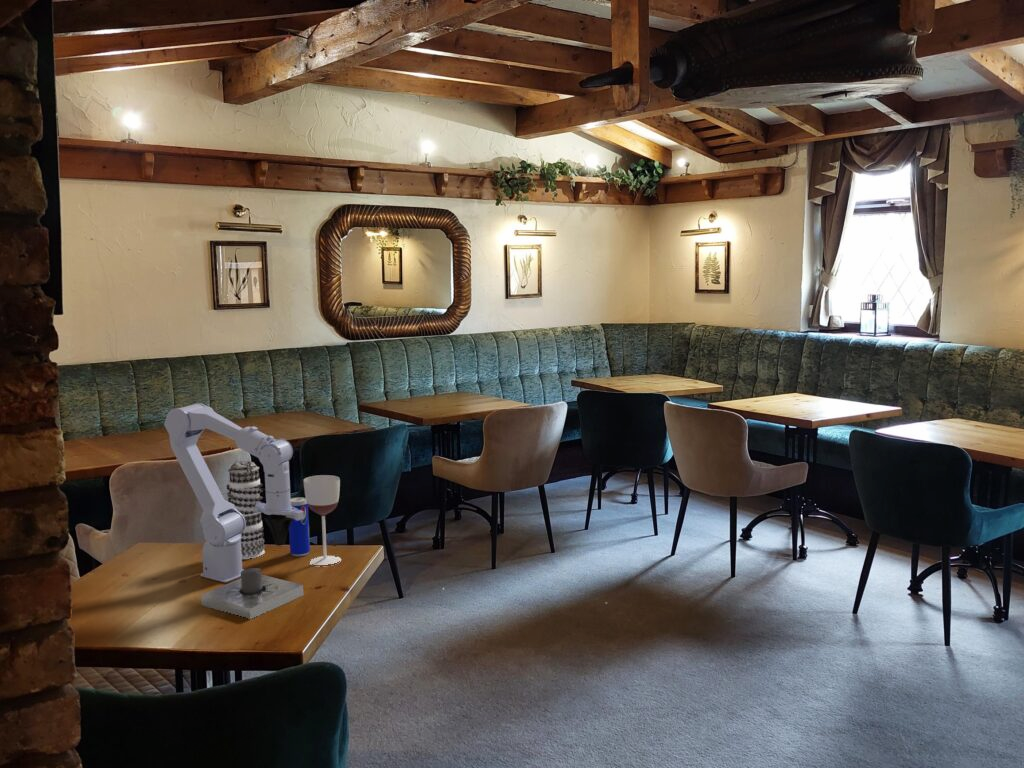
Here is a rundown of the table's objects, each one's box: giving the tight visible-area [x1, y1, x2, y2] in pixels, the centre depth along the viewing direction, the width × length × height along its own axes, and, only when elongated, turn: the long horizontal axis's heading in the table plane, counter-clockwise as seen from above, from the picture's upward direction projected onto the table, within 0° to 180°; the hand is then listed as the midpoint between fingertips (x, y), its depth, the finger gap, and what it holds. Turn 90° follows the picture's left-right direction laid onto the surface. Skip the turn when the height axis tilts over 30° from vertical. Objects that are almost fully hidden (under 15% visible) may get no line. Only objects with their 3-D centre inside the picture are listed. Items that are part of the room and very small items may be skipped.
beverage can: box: [288, 497, 311, 557], centre depth 226 cm, size 5×5×15 cm
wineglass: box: [303, 474, 342, 566], centre depth 220 cm, size 9×10×22 cm
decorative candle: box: [225, 461, 266, 560], centre depth 226 cm, size 9×9×25 cm
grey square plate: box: [200, 574, 304, 620], centre depth 195 cm, size 16×16×2 cm
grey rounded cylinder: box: [240, 567, 263, 595], centre depth 195 cm, size 5×5×7 cm
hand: (280, 544), depth 206 cm, fingers closed
